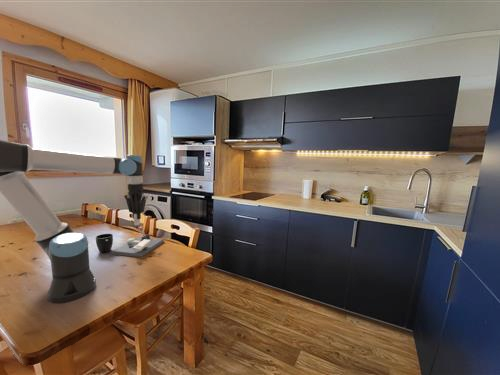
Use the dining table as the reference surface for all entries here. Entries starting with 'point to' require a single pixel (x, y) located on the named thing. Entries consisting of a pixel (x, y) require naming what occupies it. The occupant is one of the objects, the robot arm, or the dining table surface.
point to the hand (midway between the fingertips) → (137, 224)
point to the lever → (142, 231)
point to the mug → (104, 242)
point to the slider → (135, 243)
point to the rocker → (141, 245)
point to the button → (130, 241)
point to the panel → (128, 251)
